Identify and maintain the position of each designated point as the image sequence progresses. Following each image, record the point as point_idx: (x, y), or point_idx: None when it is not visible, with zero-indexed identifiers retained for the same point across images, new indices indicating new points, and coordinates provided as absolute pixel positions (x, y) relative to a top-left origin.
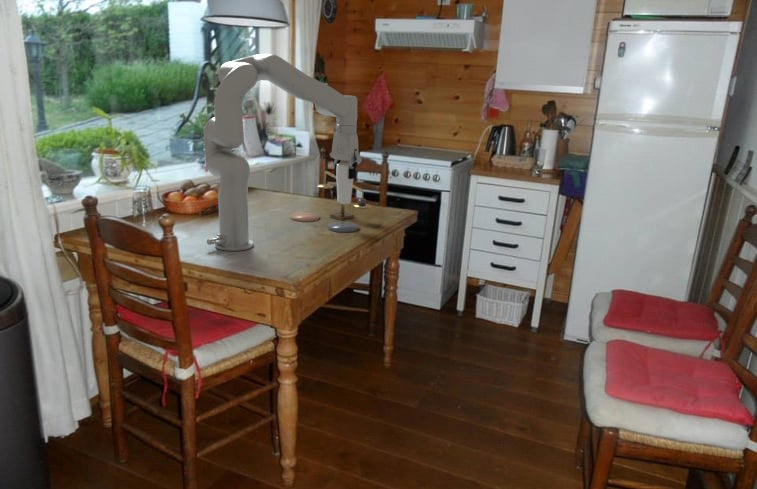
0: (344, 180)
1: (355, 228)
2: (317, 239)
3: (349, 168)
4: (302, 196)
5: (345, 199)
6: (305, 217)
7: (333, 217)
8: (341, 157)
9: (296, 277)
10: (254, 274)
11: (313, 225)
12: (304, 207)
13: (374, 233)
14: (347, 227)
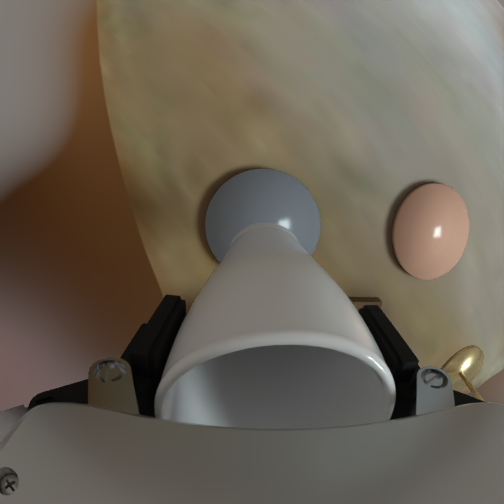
0: (219, 269)
1: (207, 233)
2: (229, 60)
3: (138, 354)
4: (498, 369)
5: (233, 240)
6: (423, 216)
7: (367, 299)
8: (264, 476)
9: None
10: None
11: (361, 177)
12: (474, 315)
13: (149, 255)
14: (235, 221)
